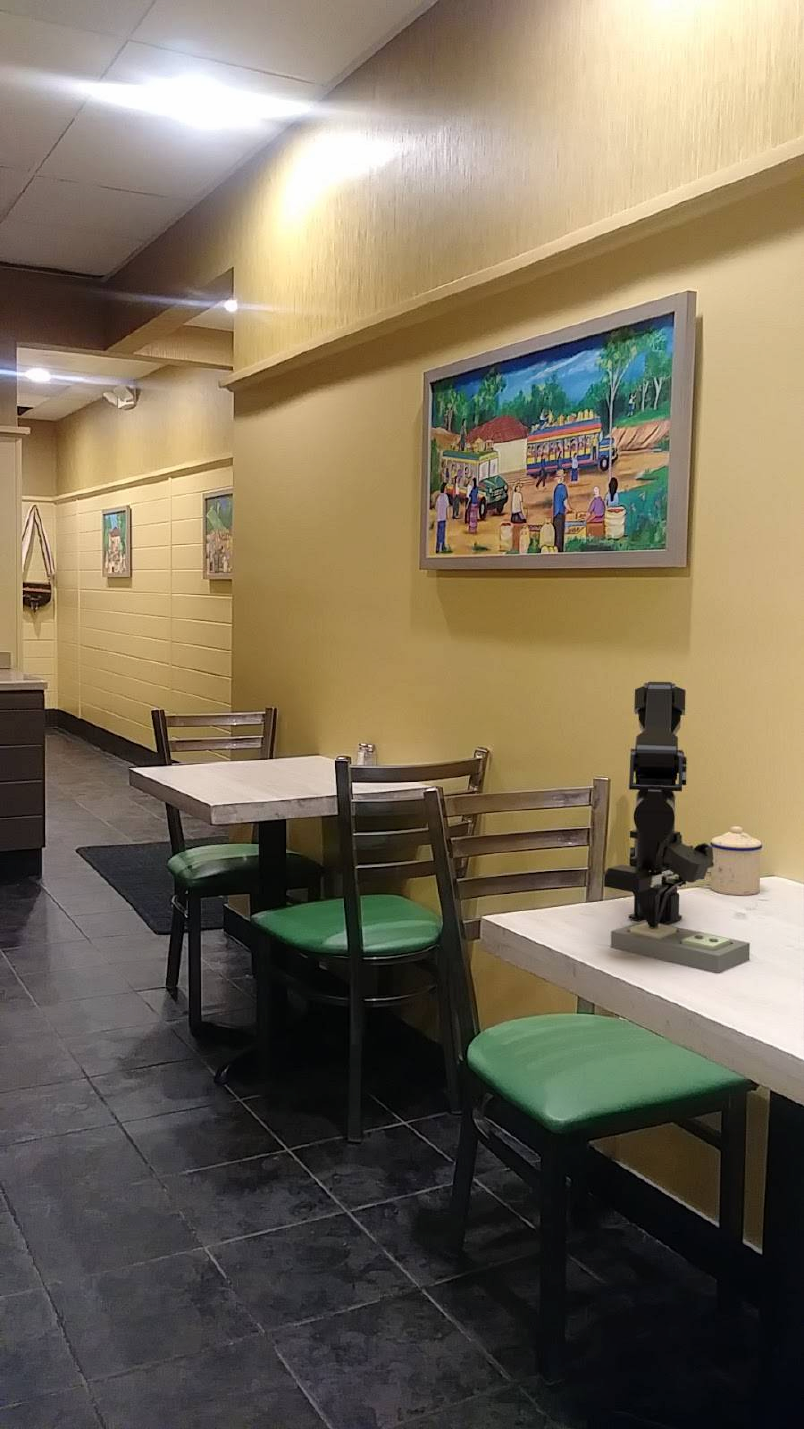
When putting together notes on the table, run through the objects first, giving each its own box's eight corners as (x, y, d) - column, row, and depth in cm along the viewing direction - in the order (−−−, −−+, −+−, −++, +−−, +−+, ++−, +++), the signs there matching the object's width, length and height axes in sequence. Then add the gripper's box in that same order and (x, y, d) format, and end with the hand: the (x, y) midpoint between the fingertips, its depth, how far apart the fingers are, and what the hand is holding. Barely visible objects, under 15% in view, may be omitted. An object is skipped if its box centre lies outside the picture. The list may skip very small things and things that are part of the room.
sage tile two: (681, 952, 169) (682, 938, 169) (699, 945, 173) (700, 931, 173) (712, 960, 166) (712, 944, 166) (730, 952, 169) (730, 937, 169)
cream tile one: (629, 940, 176) (629, 926, 175) (647, 934, 179) (648, 920, 179) (658, 947, 172) (658, 932, 172) (676, 940, 176) (676, 926, 175)
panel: (610, 947, 176) (611, 931, 175) (643, 935, 182) (644, 919, 182) (717, 973, 163) (718, 955, 163) (749, 959, 169) (749, 942, 169)
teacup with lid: (760, 886, 215) (761, 824, 214) (761, 897, 206) (763, 833, 205) (693, 882, 218) (694, 820, 217) (692, 893, 209) (693, 829, 208)
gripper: (668, 841, 162) (665, 950, 163) (735, 823, 175) (732, 924, 176) (601, 830, 170) (600, 934, 171) (670, 814, 183) (668, 911, 184)
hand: (653, 926), depth 176 cm, fingers closed, pressing on cream tile one
